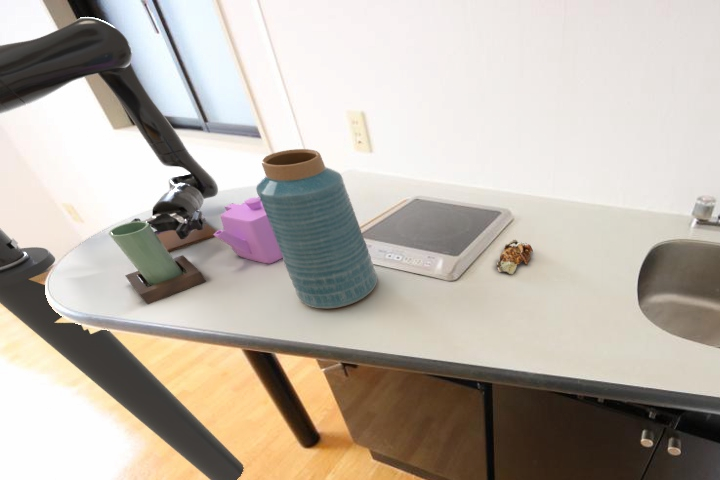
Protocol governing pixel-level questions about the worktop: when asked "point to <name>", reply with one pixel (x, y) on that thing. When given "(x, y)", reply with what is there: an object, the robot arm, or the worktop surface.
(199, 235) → the mat
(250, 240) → the teakettle
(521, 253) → the pastry
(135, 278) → the rectangular frame
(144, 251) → the cup
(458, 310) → the worktop surface
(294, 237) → the vase
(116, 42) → the robot arm
